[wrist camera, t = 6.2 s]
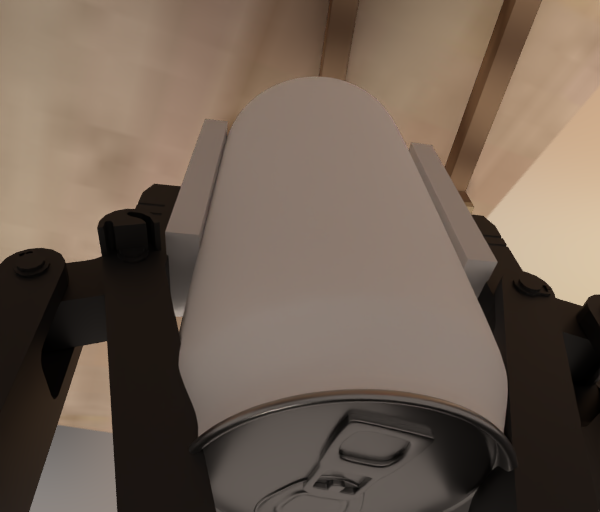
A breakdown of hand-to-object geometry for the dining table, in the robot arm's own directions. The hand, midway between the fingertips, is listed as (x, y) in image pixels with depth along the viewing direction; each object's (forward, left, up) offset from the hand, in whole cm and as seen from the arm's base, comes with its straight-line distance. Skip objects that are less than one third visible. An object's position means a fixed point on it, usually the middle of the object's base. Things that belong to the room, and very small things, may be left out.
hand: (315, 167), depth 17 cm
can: (0, 0, -1) cm, 1 cm away
